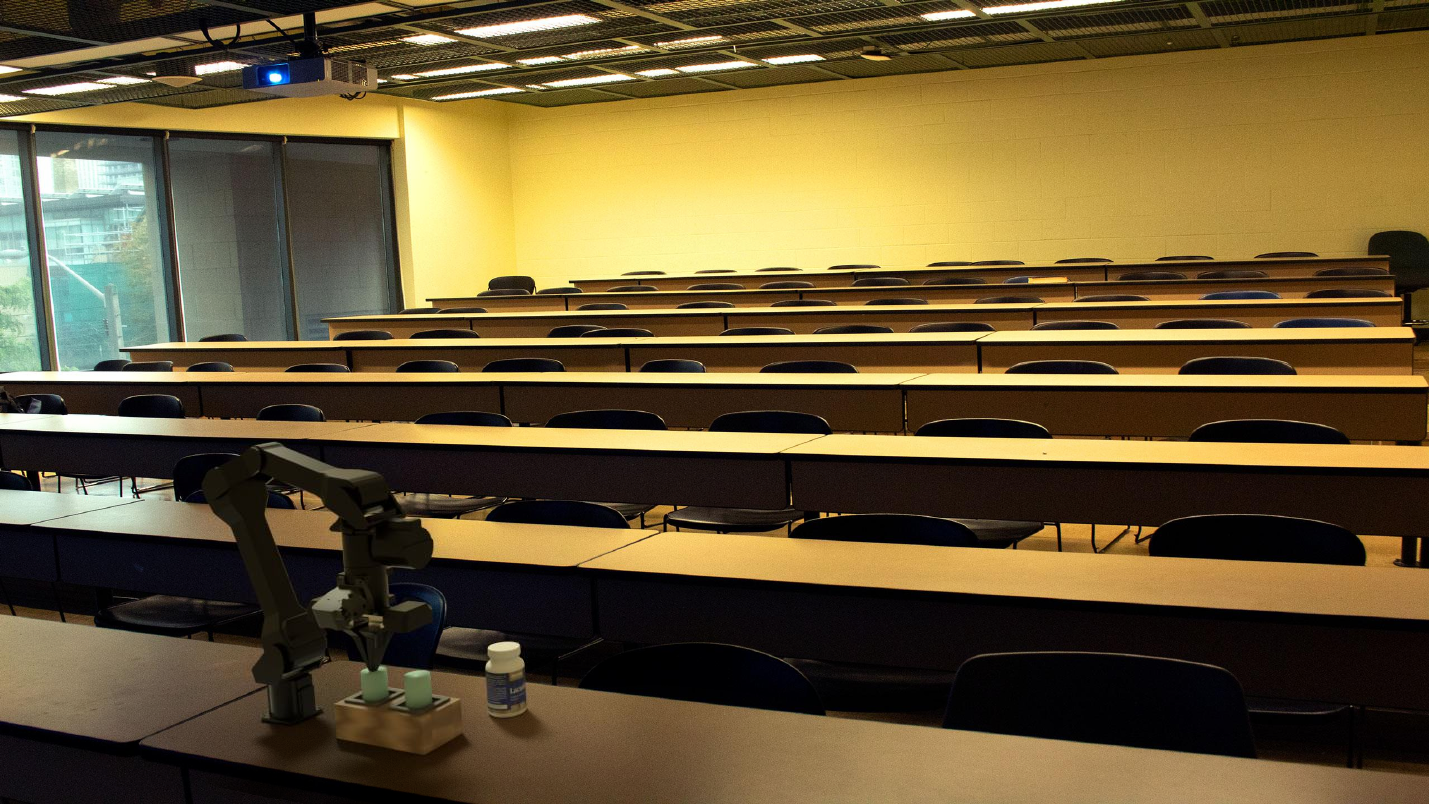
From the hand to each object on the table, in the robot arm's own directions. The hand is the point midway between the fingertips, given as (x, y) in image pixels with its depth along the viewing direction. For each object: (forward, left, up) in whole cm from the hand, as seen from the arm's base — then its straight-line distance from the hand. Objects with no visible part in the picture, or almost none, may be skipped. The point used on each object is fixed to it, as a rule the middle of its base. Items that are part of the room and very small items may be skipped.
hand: (373, 670), depth 160 cm
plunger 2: (+8, 0, -5) cm, 9 cm away
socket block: (+4, 0, -9) cm, 10 cm away
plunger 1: (0, 0, -5) cm, 5 cm away
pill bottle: (+13, +13, -9) cm, 21 cm away
